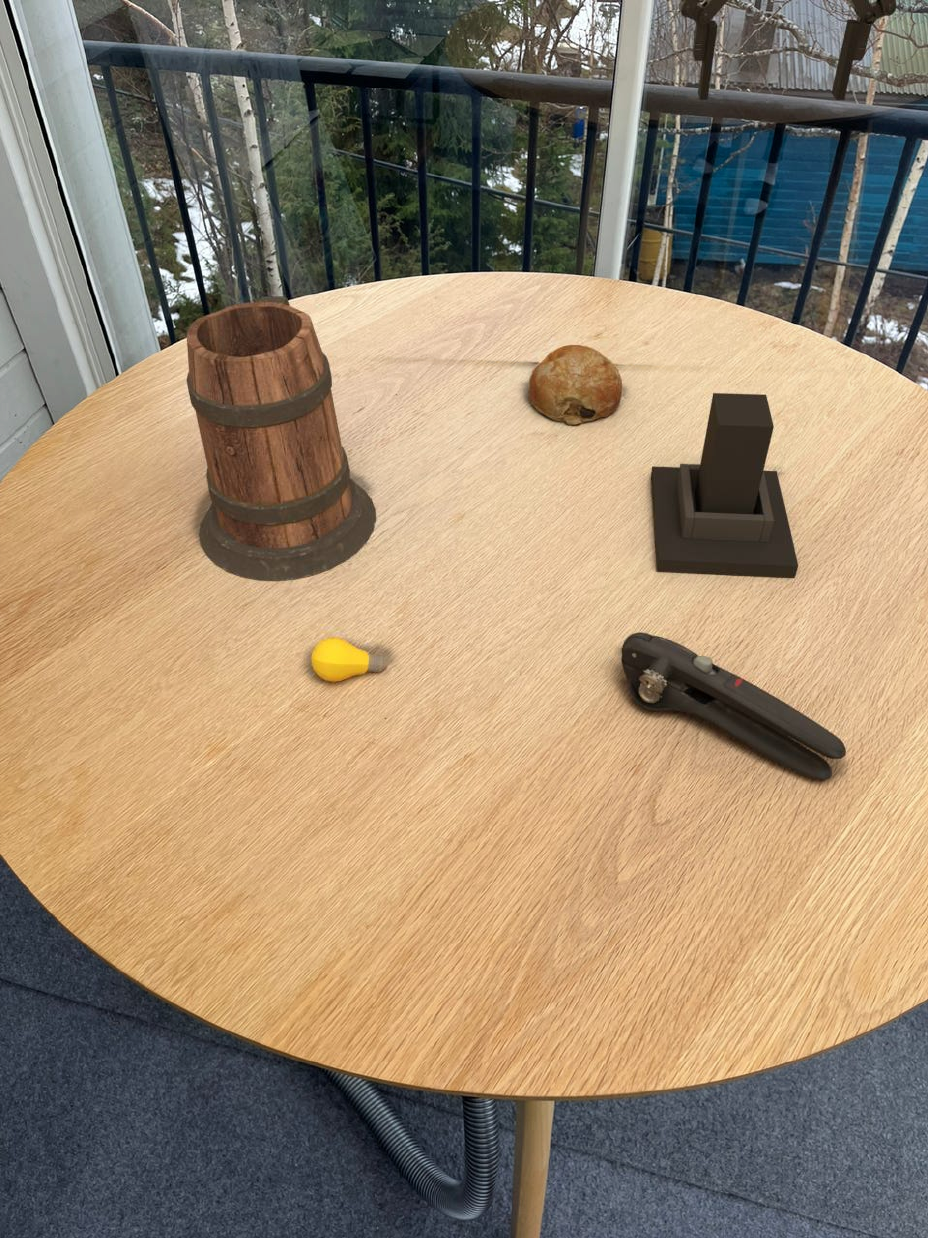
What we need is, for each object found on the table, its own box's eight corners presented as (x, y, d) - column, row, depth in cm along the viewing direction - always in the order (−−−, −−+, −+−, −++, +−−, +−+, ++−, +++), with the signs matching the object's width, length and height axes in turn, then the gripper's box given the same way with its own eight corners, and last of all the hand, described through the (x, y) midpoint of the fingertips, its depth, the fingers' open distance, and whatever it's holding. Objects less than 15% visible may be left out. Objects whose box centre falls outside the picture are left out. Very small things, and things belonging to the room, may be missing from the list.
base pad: (773, 483, 92) (782, 448, 90) (795, 578, 82) (805, 543, 80) (650, 478, 93) (655, 444, 91) (656, 572, 83) (662, 537, 81)
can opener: (597, 694, 73) (603, 645, 70) (645, 644, 77) (653, 594, 73) (810, 816, 65) (830, 767, 61) (852, 753, 69) (874, 703, 65)
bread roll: (535, 450, 104) (546, 409, 96) (515, 372, 107) (524, 327, 99) (621, 437, 105) (638, 396, 97) (599, 361, 108) (614, 315, 101)
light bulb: (307, 666, 76) (313, 627, 75) (380, 673, 78) (387, 635, 76) (309, 687, 73) (315, 647, 72) (384, 694, 75) (392, 655, 73)
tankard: (370, 578, 84) (344, 378, 70) (182, 583, 84) (119, 384, 70) (384, 431, 101) (366, 246, 87) (227, 435, 101) (183, 252, 87)
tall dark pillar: (743, 496, 88) (766, 394, 81) (749, 530, 85) (774, 426, 77) (694, 495, 89) (713, 392, 81) (698, 528, 85) (718, 424, 78)
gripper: (676, -168, 81) (648, 105, 95) (979, -175, 78) (904, 106, 93) (670, -173, 86) (645, 86, 100) (953, -180, 84) (886, 86, 98)
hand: (769, 96), depth 97 cm, fingers open, 13 cm apart
